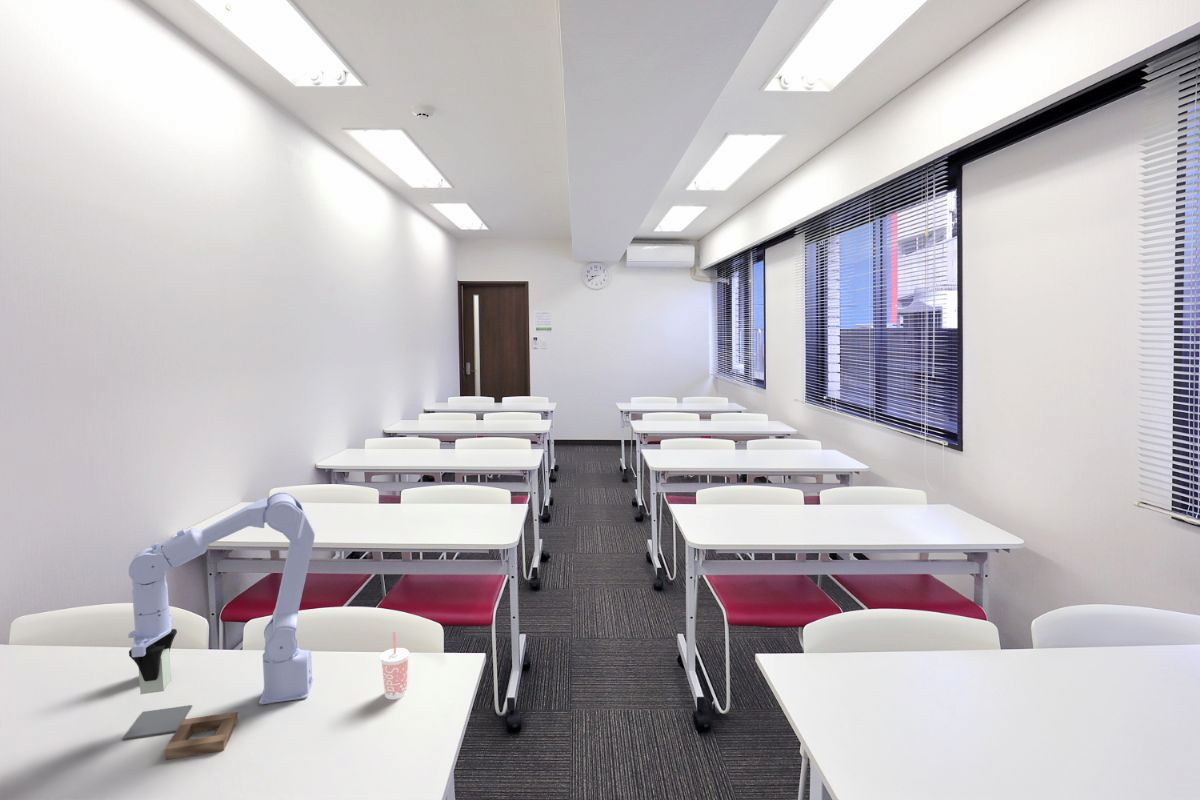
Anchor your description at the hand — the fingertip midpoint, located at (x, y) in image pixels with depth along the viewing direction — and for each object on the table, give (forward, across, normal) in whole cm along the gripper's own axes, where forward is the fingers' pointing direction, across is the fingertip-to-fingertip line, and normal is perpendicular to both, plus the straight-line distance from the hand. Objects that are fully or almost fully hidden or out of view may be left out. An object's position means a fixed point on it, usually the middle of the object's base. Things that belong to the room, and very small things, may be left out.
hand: (155, 674), depth 126 cm
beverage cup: (+11, +2, +46) cm, 47 cm away
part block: (+3, 0, 0) cm, 3 cm away
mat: (+10, 0, 0) cm, 10 cm away
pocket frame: (+10, +8, +10) cm, 17 cm away
